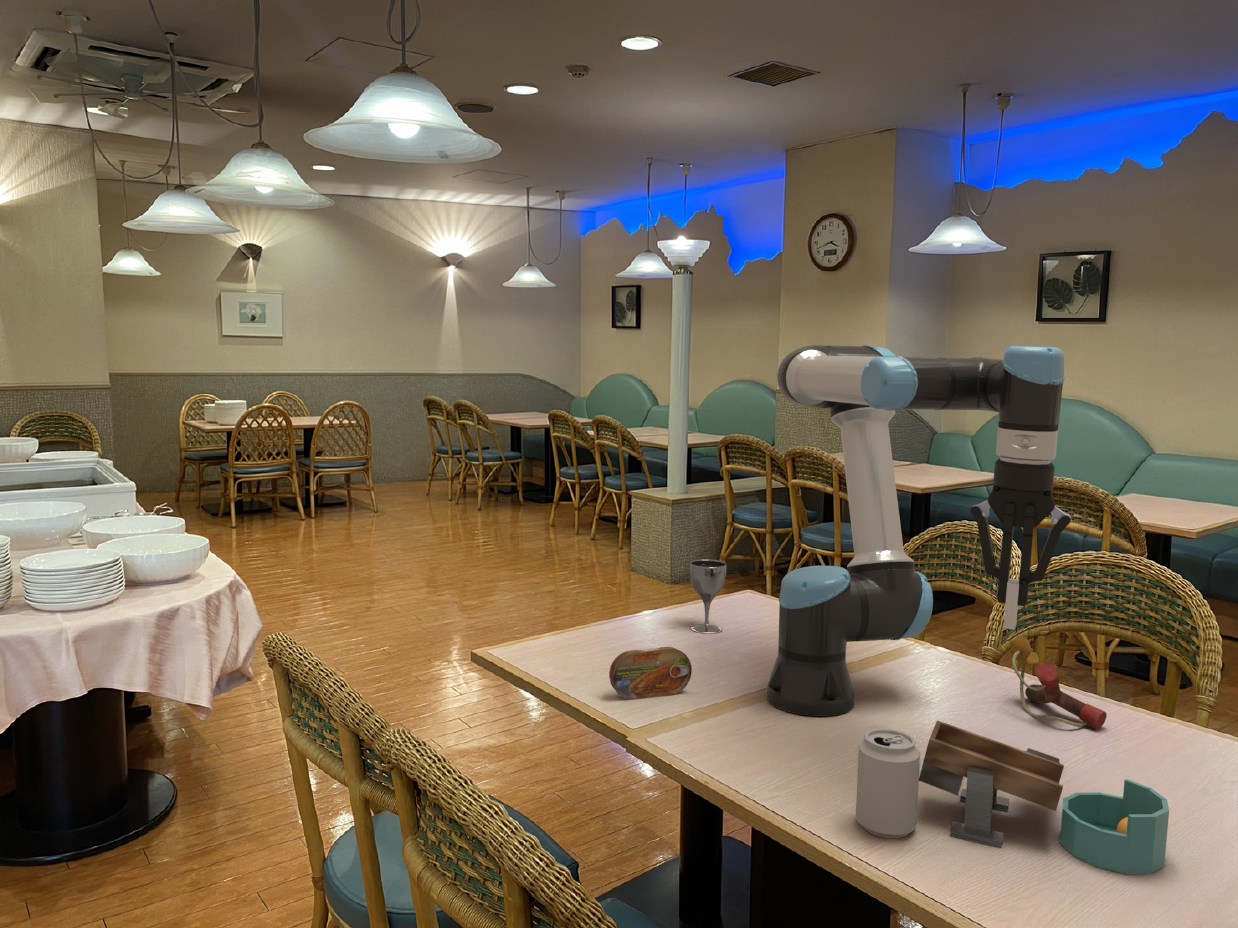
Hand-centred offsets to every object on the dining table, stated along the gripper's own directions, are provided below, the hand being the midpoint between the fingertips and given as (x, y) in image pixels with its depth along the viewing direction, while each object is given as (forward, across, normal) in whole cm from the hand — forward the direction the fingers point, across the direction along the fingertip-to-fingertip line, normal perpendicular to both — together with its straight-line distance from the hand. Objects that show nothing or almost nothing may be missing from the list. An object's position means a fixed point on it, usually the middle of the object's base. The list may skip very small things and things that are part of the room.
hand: (1009, 626), depth 128 cm
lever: (+19, -1, -11) cm, 22 cm away
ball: (+20, +17, -14) cm, 29 cm away
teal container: (+22, +14, -14) cm, 30 cm away
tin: (+25, -58, +6) cm, 63 cm away
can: (+23, -11, -22) cm, 33 cm away
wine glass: (+26, -64, +49) cm, 84 cm away
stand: (+22, -1, -14) cm, 26 cm away
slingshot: (+24, +6, +30) cm, 39 cm away
